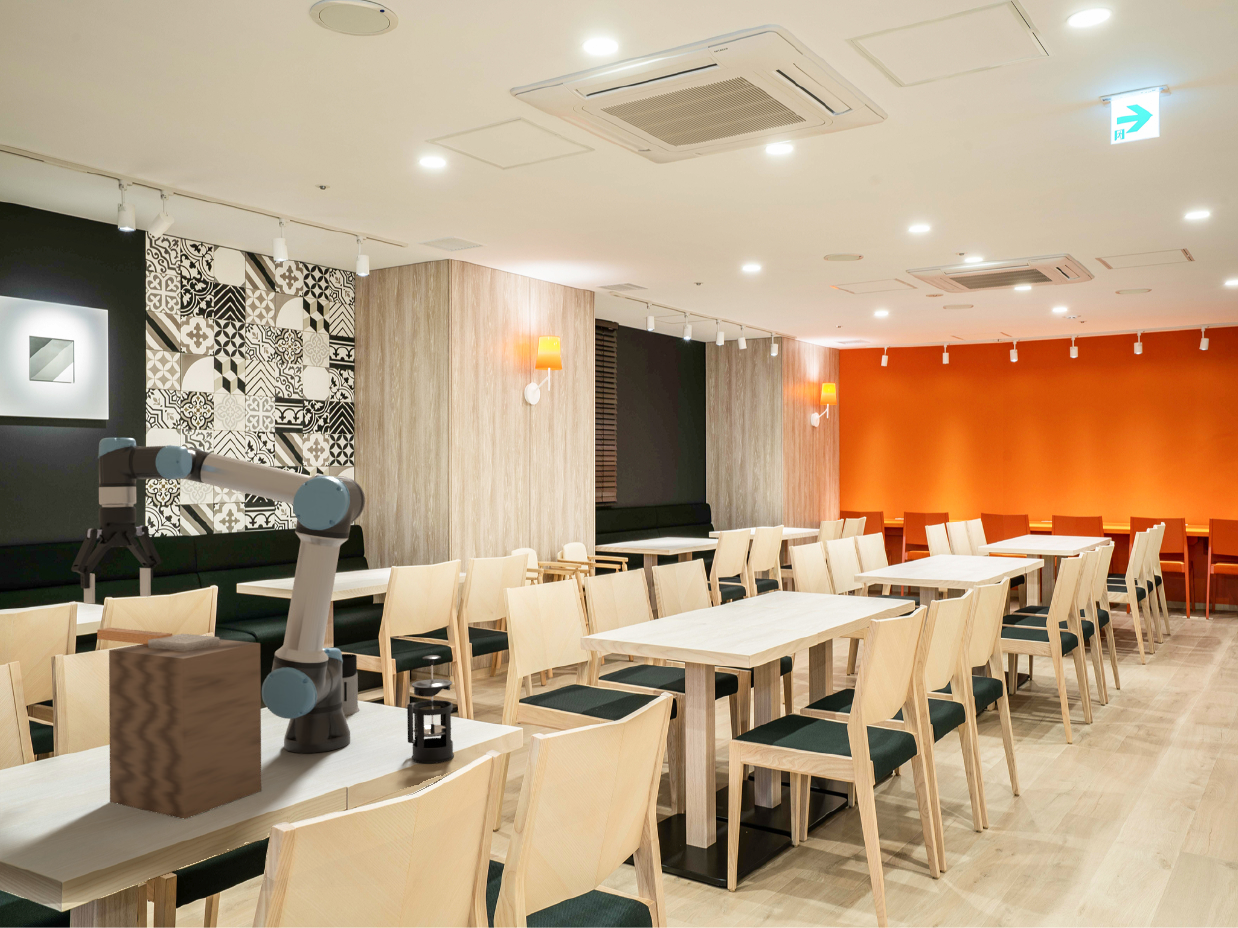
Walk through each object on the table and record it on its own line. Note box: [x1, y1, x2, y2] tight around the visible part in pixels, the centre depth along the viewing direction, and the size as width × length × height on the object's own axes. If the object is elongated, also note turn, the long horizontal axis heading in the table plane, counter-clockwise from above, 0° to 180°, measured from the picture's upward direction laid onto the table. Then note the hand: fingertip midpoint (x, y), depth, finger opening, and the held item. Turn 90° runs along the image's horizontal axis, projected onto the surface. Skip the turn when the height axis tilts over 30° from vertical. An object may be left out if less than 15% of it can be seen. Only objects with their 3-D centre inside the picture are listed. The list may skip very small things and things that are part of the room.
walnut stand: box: [108, 638, 262, 820], centre depth 192 cm, size 22×18×30 cm
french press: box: [406, 654, 455, 765], centre depth 216 cm, size 12×9×23 cm
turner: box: [96, 627, 220, 652], centre depth 197 cm, size 31×8×2 cm, turn 62°
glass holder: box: [342, 653, 360, 716], centre depth 258 cm, size 9×14×15 cm, turn 2°
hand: (118, 599), depth 216 cm, fingers open, 13 cm apart
